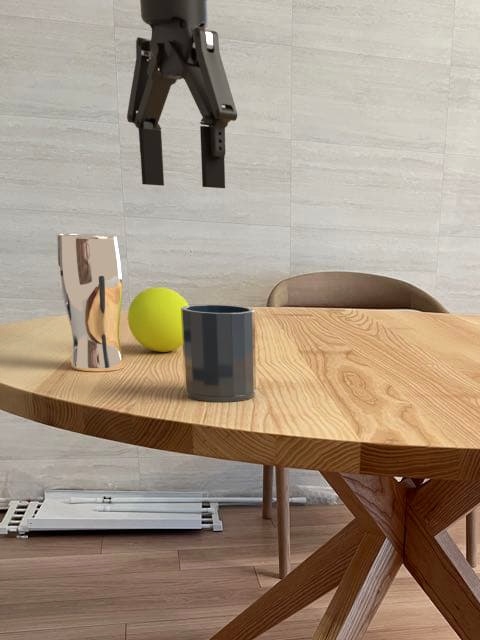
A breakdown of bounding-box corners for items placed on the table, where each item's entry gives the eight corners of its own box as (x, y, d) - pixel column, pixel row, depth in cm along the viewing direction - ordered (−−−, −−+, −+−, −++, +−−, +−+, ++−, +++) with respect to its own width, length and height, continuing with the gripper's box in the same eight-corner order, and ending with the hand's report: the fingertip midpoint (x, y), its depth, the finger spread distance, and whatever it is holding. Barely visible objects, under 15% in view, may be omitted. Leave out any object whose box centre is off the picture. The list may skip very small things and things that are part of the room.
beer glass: (103, 374, 96) (91, 237, 90) (54, 368, 98) (40, 233, 92) (140, 365, 102) (131, 236, 96) (94, 359, 104) (83, 233, 98)
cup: (171, 395, 88) (166, 308, 84) (213, 384, 94) (210, 302, 90) (228, 405, 85) (226, 315, 81) (268, 393, 91) (267, 309, 88)
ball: (116, 351, 110) (111, 286, 107) (158, 344, 117) (155, 282, 114) (167, 359, 107) (163, 292, 104) (207, 351, 114) (204, 288, 111)
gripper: (266, -21, 90) (268, 190, 98) (145, 5, 105) (155, 185, 113) (207, -38, 85) (214, 187, 93) (89, -8, 100) (104, 182, 108)
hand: (182, 186), depth 103 cm, fingers open, 13 cm apart
